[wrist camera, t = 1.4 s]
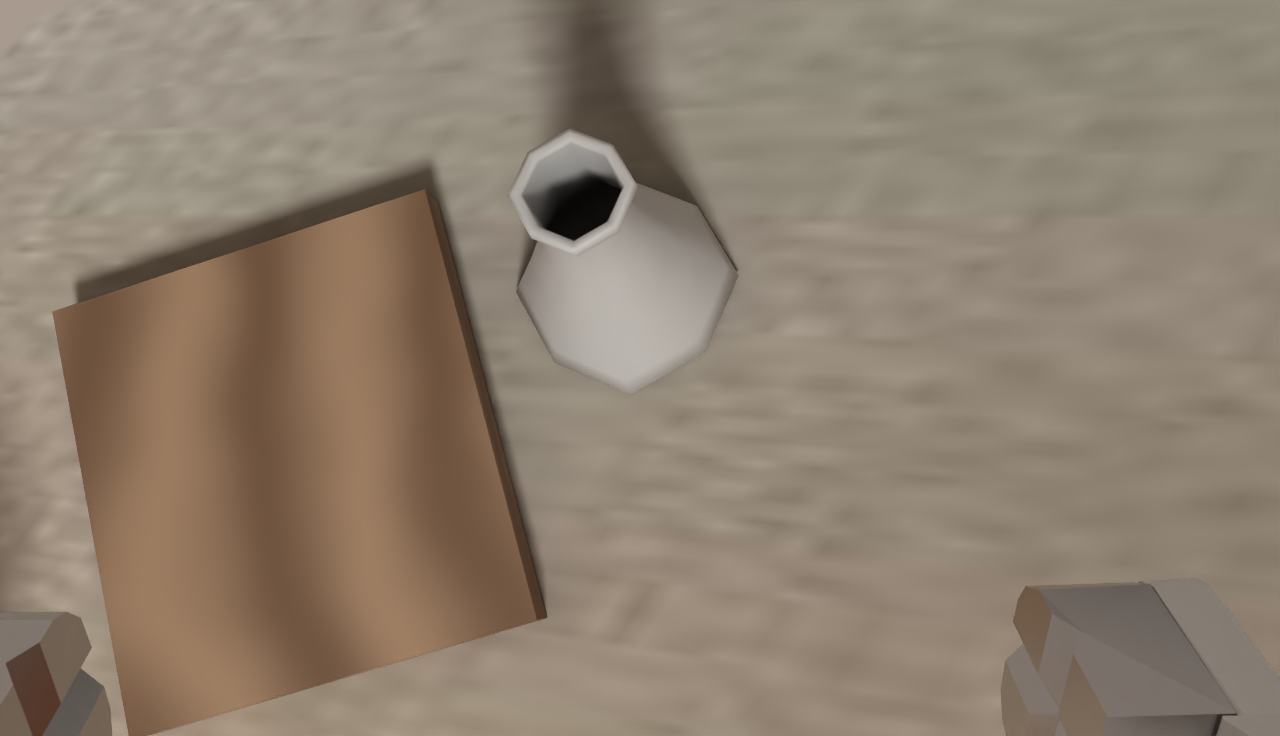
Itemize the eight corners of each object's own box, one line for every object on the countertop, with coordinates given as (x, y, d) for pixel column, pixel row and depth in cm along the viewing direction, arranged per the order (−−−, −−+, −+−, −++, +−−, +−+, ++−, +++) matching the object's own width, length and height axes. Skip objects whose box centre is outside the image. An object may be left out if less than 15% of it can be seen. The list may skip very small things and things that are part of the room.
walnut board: (438, 203, 40) (424, 189, 39) (546, 617, 37) (536, 619, 36) (78, 320, 41) (52, 311, 40) (155, 733, 38) (129, 740, 37)
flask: (482, 296, 39) (380, 205, 30) (621, 144, 40) (565, 5, 30) (633, 433, 38) (577, 385, 28) (776, 274, 38) (771, 172, 28)
